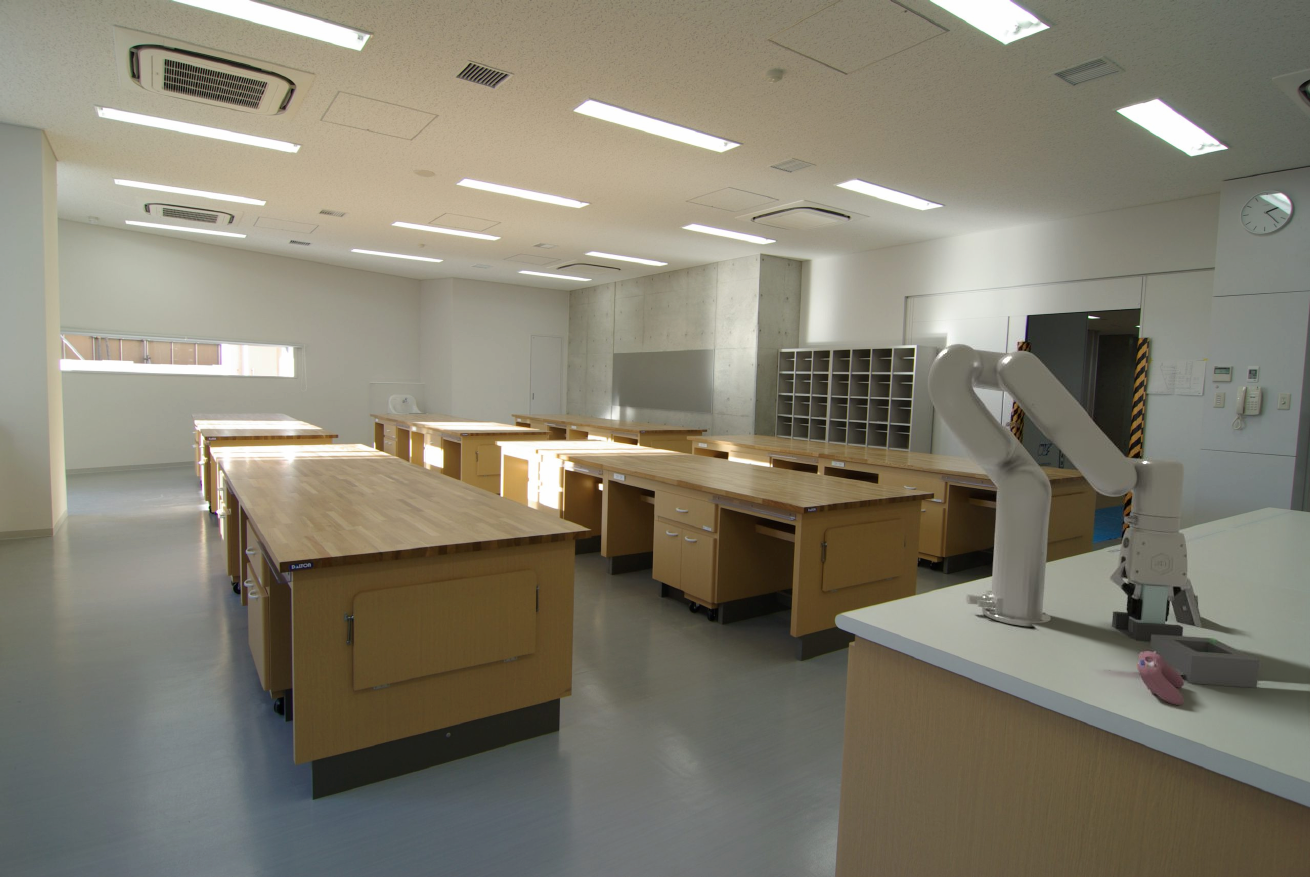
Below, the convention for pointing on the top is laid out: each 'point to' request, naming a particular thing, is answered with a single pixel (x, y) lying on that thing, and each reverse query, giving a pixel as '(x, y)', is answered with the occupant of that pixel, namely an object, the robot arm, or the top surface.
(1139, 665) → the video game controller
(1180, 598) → the electrical switch
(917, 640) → the top surface
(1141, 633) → the dark grey flanged block
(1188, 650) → the port
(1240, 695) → the top surface
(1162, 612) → the plug
